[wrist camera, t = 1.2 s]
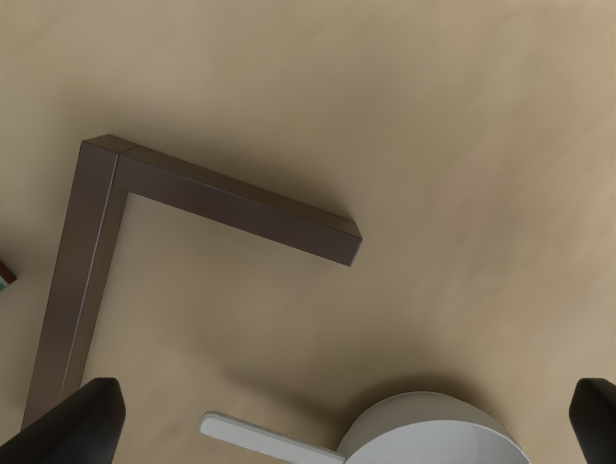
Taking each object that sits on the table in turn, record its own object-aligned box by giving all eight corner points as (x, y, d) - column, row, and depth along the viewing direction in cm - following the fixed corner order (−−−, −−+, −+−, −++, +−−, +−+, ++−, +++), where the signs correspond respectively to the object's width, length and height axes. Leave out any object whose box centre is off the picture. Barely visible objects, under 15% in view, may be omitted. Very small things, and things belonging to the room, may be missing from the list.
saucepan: (442, 541, 28) (464, 609, 24) (177, 443, 25) (156, 503, 21) (544, 417, 25) (586, 473, 21) (256, 289, 22) (249, 329, 18)
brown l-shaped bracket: (247, 478, 26) (241, 517, 24) (41, 424, 24) (13, 460, 22) (355, 221, 21) (363, 238, 19) (107, 133, 20) (81, 140, 17)
